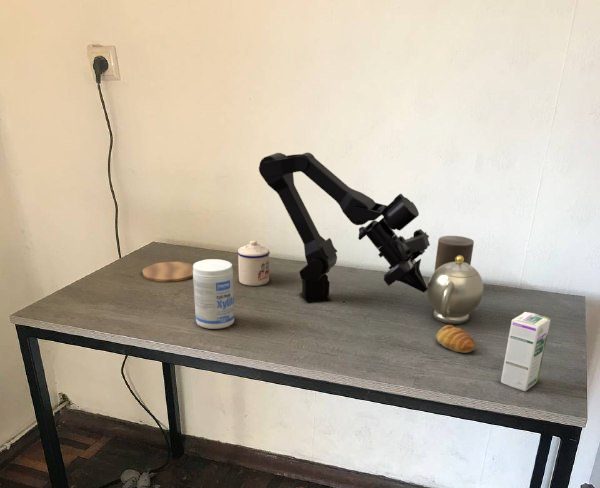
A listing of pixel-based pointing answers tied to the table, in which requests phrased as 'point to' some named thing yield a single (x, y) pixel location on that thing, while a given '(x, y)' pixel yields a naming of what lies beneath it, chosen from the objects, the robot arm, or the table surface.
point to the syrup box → (525, 350)
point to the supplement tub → (213, 293)
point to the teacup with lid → (253, 264)
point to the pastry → (455, 339)
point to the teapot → (454, 291)
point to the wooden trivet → (168, 271)
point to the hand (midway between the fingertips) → (425, 290)
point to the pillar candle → (453, 250)
